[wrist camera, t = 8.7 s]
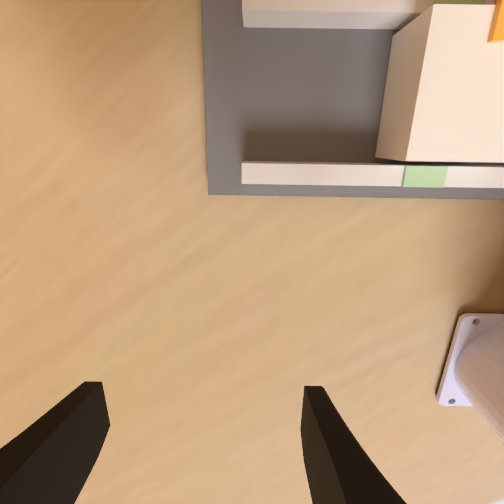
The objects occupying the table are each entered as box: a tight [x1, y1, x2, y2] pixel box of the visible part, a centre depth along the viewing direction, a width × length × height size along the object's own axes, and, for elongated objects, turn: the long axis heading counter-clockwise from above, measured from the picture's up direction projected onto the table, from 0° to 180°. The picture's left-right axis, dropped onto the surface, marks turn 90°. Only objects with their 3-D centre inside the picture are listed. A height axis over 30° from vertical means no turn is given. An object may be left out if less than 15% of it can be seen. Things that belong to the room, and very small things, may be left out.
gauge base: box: [202, 0, 504, 200], centre depth 14 cm, size 22×10×5 cm, turn 89°
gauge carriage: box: [375, 0, 504, 163], centre depth 14 cm, size 8×7×4 cm
